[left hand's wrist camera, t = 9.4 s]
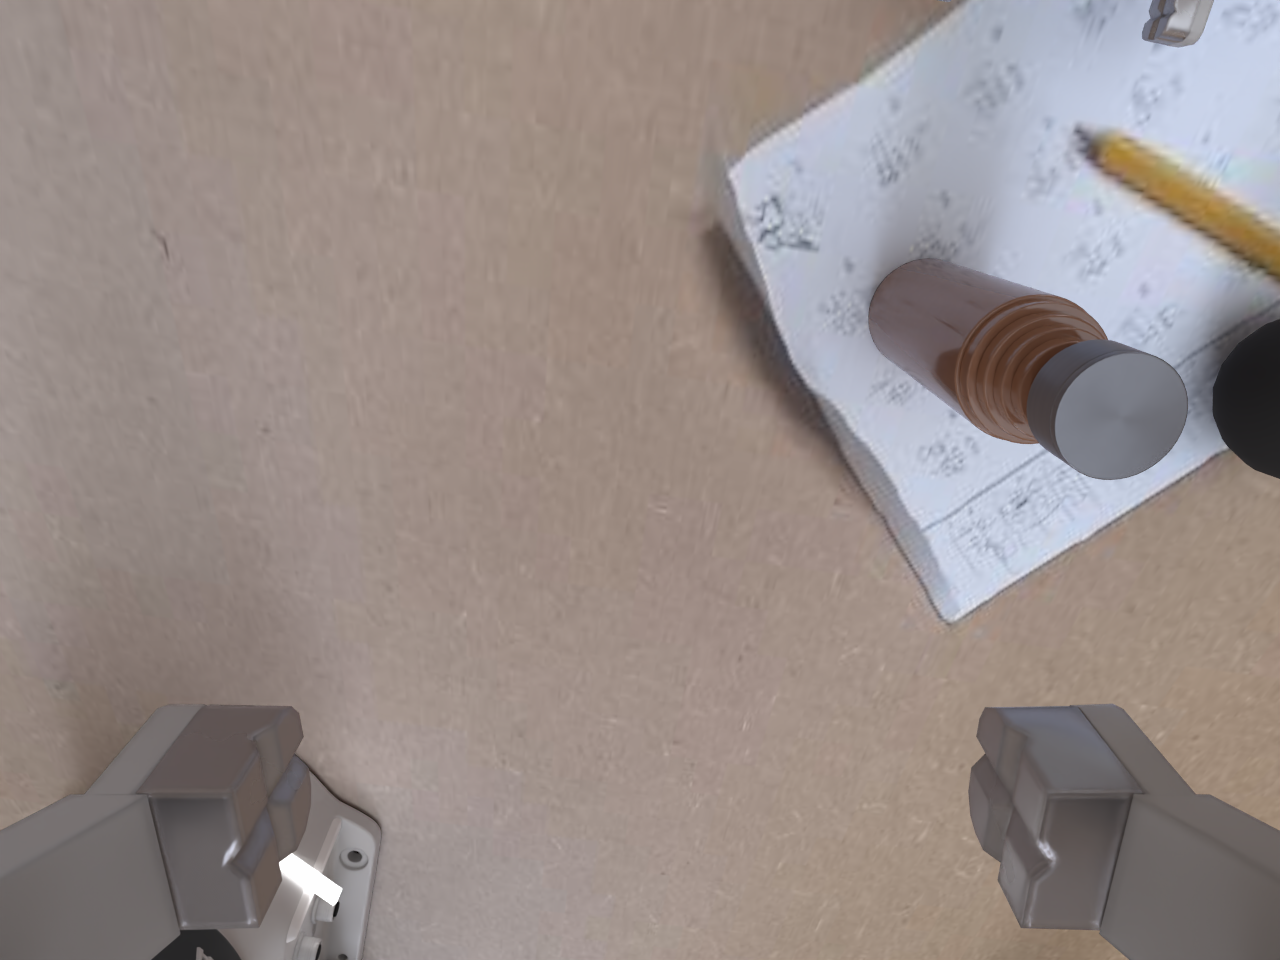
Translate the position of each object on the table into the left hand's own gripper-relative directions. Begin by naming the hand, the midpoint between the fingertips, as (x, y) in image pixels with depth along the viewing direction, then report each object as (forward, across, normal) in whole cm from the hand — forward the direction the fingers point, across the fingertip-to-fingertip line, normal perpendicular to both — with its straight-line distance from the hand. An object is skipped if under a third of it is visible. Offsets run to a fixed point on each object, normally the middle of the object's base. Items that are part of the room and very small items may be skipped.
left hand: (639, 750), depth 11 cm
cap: (+16, +14, -1) cm, 21 cm away
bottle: (+35, +14, -1) cm, 38 cm away
